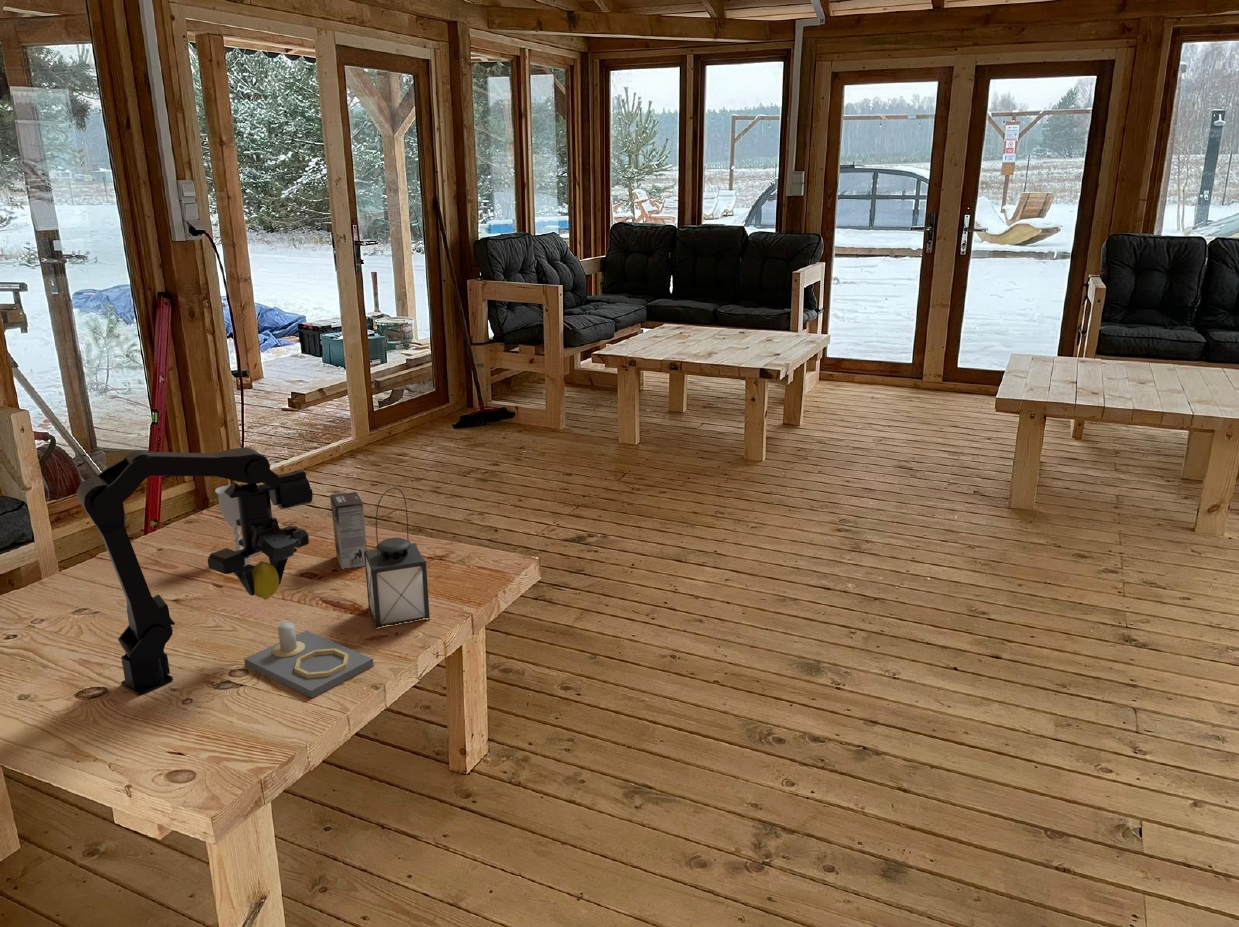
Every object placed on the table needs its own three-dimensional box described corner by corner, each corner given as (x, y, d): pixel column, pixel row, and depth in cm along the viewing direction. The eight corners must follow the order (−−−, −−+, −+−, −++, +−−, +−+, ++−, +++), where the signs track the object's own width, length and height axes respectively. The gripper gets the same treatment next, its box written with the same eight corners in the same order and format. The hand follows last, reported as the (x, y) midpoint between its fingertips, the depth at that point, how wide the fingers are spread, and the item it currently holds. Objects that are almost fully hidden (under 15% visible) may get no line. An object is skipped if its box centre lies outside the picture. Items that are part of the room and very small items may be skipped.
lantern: (420, 599, 202) (411, 478, 194) (430, 620, 192) (421, 493, 184) (368, 607, 198) (357, 484, 190) (376, 629, 188) (364, 500, 180)
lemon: (271, 606, 176) (266, 568, 174) (245, 604, 177) (240, 566, 175) (286, 594, 181) (282, 556, 179) (260, 592, 182) (256, 554, 180)
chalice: (218, 562, 221) (208, 492, 216) (237, 552, 228) (228, 483, 222) (243, 566, 219) (234, 495, 214) (262, 555, 225) (253, 486, 220)
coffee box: (335, 556, 225) (329, 494, 220) (362, 552, 228) (356, 490, 223) (341, 570, 217) (335, 505, 213) (368, 565, 220) (363, 502, 215)
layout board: (311, 698, 163) (308, 665, 161) (245, 665, 174) (240, 634, 172) (373, 665, 174) (370, 635, 172) (307, 637, 185) (303, 607, 183)
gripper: (238, 538, 162) (248, 618, 167) (323, 508, 177) (331, 582, 182) (201, 525, 168) (211, 603, 173) (286, 497, 183) (294, 570, 187)
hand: (264, 589), depth 178 cm, fingers closed on lemon, 5 cm apart
